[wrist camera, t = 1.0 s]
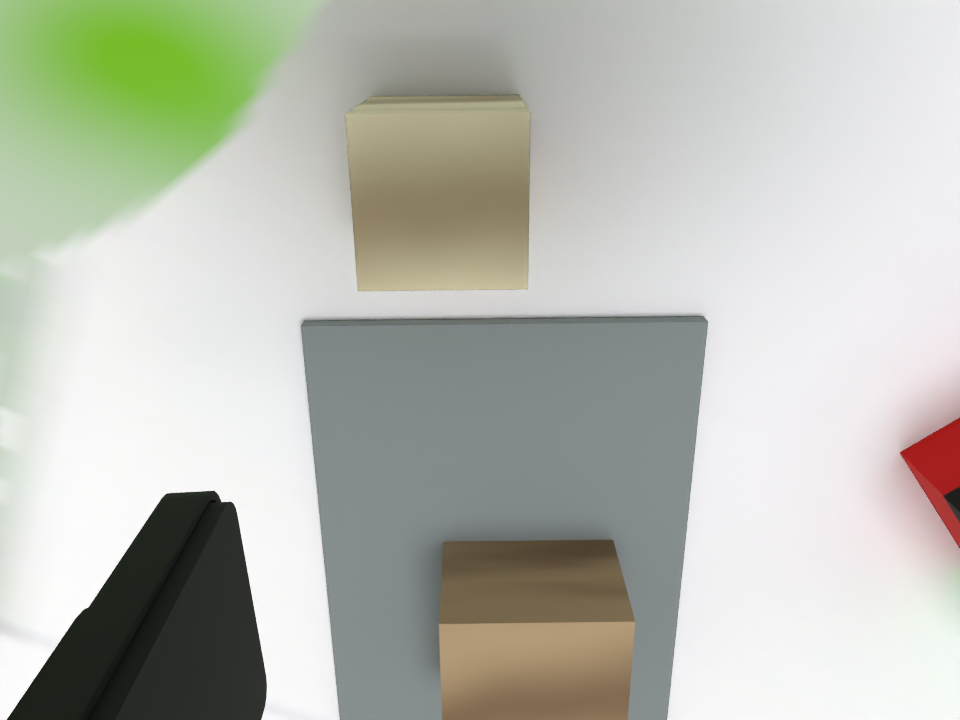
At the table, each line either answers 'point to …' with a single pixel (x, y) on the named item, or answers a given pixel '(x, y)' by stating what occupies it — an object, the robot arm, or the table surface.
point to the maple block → (440, 192)
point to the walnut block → (534, 631)
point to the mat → (495, 476)
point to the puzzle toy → (939, 472)
